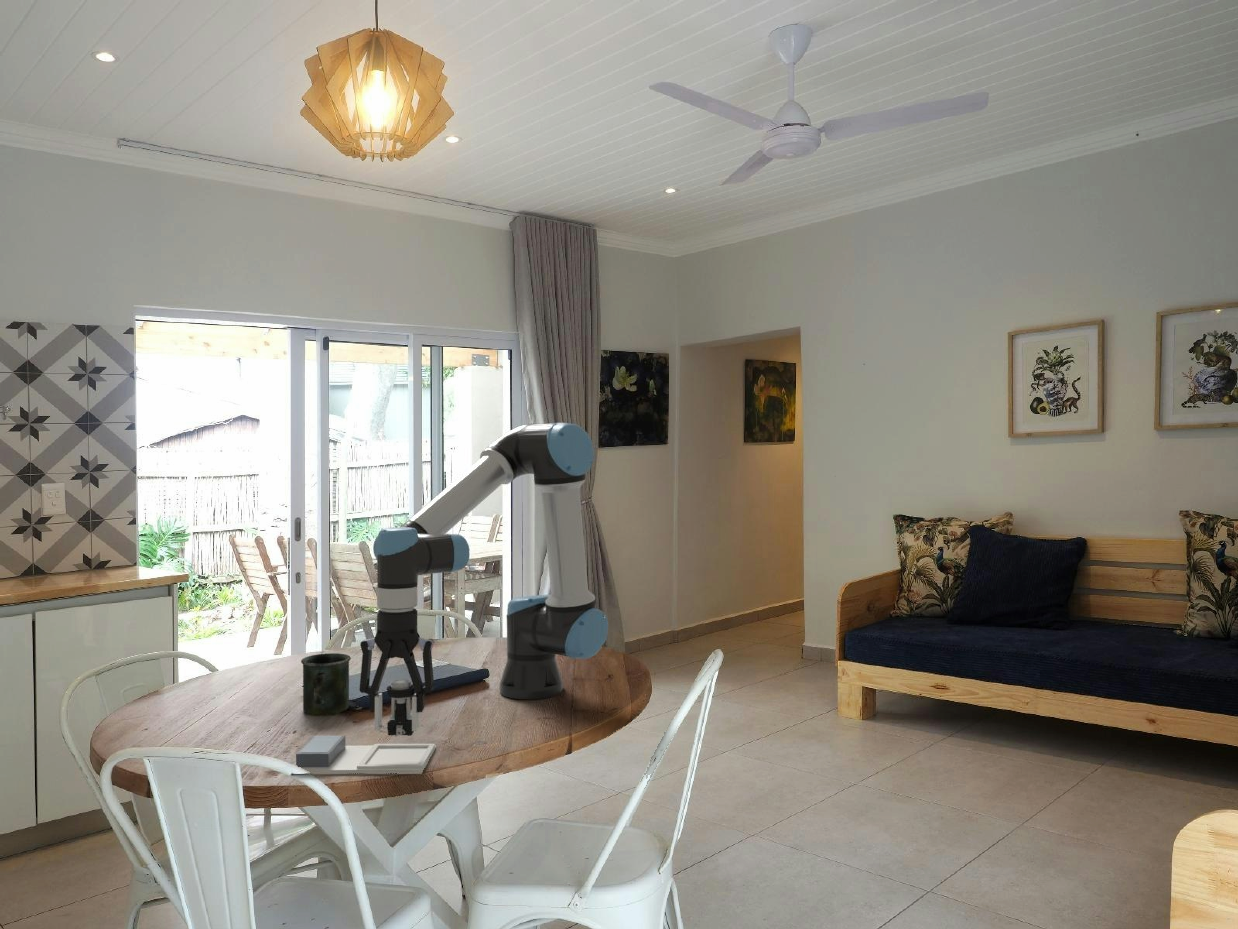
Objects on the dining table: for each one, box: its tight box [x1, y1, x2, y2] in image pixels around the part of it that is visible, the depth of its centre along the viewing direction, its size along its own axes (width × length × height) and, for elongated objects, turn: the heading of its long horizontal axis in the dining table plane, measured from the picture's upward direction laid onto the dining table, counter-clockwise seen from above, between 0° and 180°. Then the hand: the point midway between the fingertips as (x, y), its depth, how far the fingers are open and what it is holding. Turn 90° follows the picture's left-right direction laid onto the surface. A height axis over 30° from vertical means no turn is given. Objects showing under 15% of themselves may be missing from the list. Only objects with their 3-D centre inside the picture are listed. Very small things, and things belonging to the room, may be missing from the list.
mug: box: [300, 652, 352, 717], centre depth 208 cm, size 11×15×12 cm
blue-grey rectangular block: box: [295, 734, 346, 767], centre depth 175 cm, size 6×11×3 cm, turn 1°
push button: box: [379, 679, 415, 737], centre depth 175 cm, size 7×5×10 cm
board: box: [301, 743, 437, 775], centre depth 175 cm, size 24×14×1 cm, turn 91°
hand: (396, 728), depth 175 cm, fingers closed on push button, 6 cm apart
